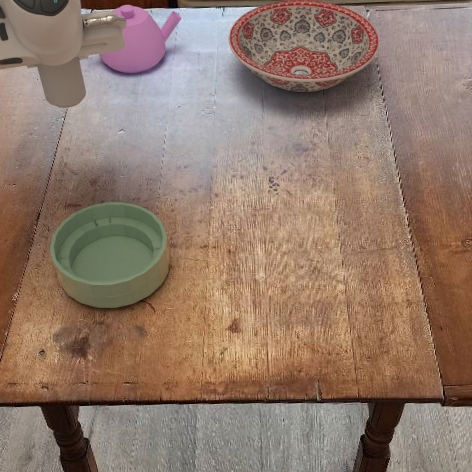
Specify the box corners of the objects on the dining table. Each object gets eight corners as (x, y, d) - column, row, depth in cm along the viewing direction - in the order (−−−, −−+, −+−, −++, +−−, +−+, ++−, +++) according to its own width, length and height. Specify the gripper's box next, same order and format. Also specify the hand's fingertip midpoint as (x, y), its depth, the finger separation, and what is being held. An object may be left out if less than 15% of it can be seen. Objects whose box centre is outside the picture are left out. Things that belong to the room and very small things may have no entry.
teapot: (192, 66, 140) (189, 15, 131) (96, 83, 136) (86, 33, 128) (174, 32, 148) (170, -18, 139) (84, 48, 144) (74, -2, 136)
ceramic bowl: (368, 125, 128) (375, 87, 121) (216, 109, 131) (215, 71, 124) (376, 43, 145) (383, 5, 138) (242, 30, 148) (242, -6, 142)
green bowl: (49, 310, 101) (40, 283, 96) (69, 229, 111) (61, 201, 106) (164, 312, 101) (161, 285, 96) (173, 230, 111) (170, 202, 106)
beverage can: (66, 115, 105) (48, 41, 95) (37, 101, 107) (17, 27, 98) (95, 96, 108) (80, 22, 98) (67, 82, 110) (50, 9, 101)
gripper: (121, -9, 90) (119, 26, 104) (-36, 14, 87) (-17, 47, 101) (132, 40, 91) (129, 68, 105) (-23, 64, 88) (-6, 90, 102)
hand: (56, 58), depth 103 cm, fingers closed on beverage can, 6 cm apart
